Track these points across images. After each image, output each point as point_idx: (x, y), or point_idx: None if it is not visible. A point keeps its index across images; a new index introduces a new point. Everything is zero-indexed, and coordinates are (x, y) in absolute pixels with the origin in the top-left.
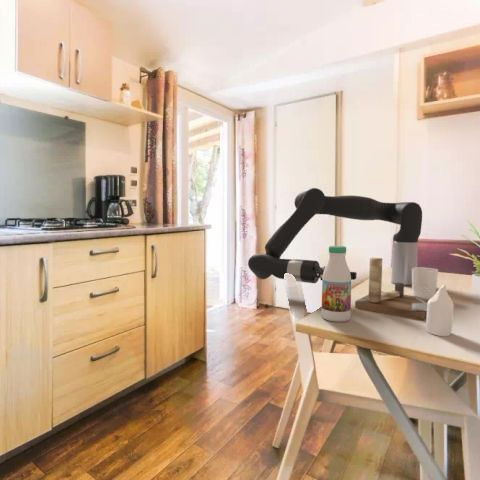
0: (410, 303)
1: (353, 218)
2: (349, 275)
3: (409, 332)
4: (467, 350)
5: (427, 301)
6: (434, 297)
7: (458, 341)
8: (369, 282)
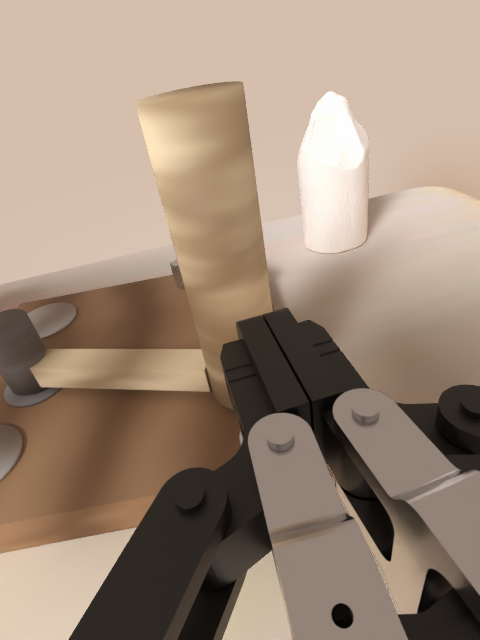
0: (148, 317)
1: None
2: None
3: (412, 254)
4: (393, 198)
5: (74, 306)
6: (360, 133)
7: None
8: (259, 297)
